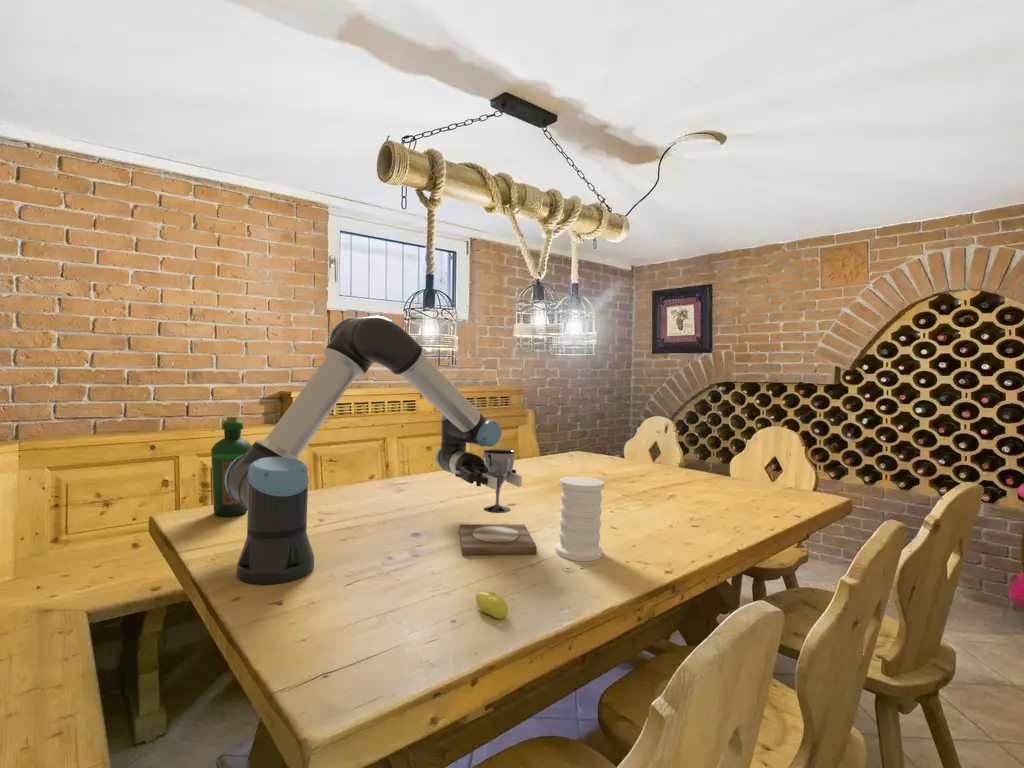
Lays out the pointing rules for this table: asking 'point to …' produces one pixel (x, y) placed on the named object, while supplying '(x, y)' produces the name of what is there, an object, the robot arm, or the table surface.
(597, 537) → the decorative container
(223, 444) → the bottle
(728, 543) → the table surface
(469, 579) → the table surface
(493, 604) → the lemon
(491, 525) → the dock
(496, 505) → the silver goblet
